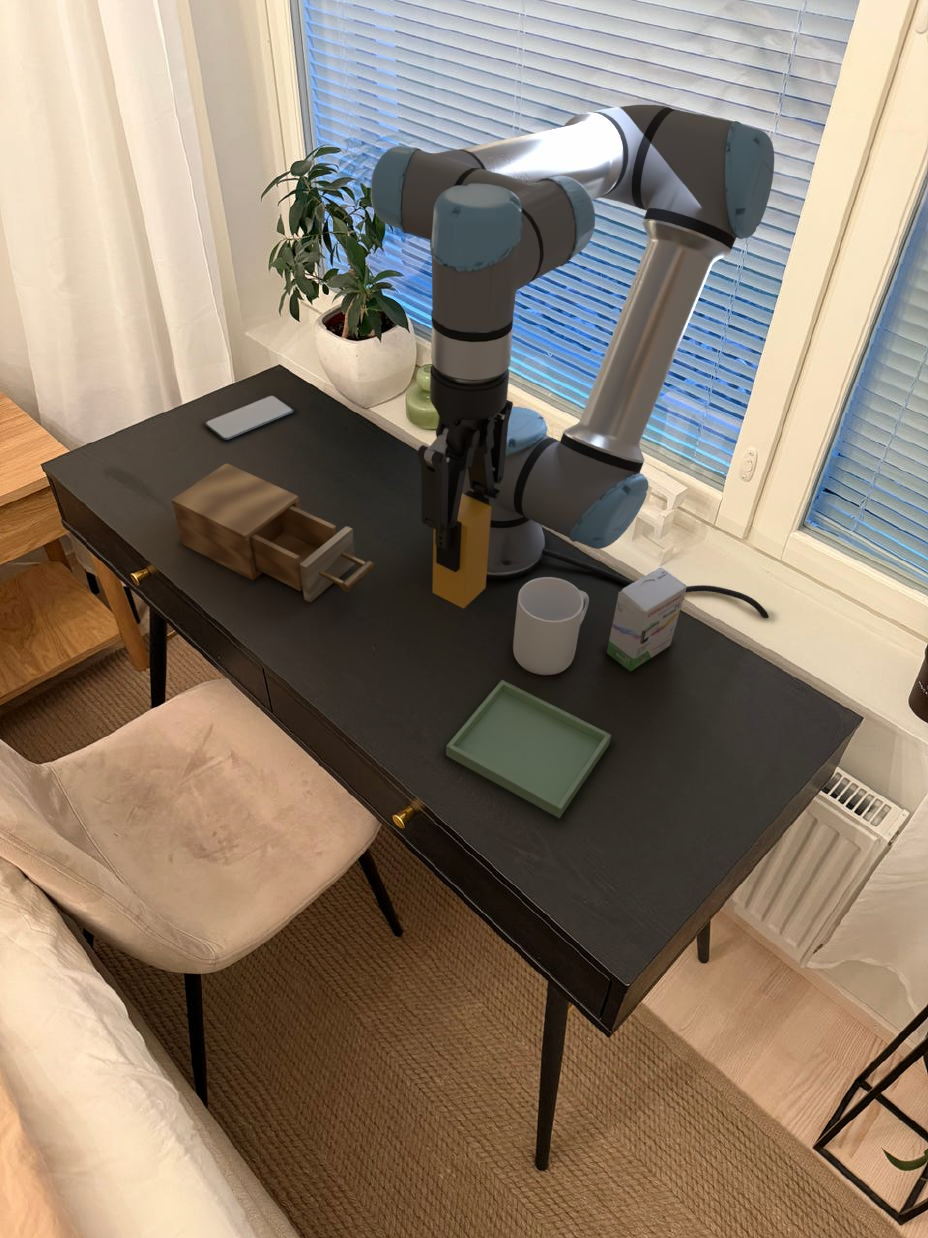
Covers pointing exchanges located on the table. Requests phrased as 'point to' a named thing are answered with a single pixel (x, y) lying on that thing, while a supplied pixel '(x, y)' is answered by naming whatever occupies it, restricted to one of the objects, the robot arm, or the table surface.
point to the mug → (548, 624)
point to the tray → (529, 747)
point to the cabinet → (229, 515)
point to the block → (466, 555)
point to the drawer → (306, 553)
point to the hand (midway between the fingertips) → (461, 553)
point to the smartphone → (249, 417)
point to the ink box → (645, 618)
